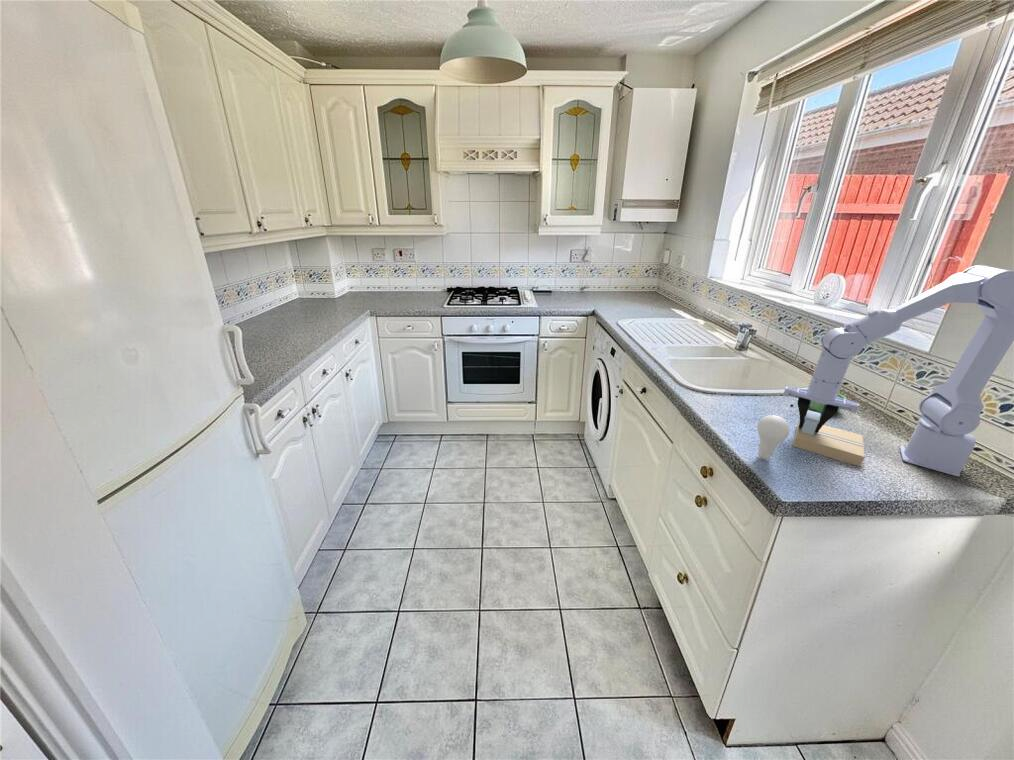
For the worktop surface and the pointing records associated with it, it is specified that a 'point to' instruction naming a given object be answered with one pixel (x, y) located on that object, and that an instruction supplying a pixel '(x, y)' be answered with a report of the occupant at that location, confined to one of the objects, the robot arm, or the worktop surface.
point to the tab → (810, 422)
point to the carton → (832, 444)
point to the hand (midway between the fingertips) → (808, 428)
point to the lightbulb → (771, 434)
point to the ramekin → (819, 406)
